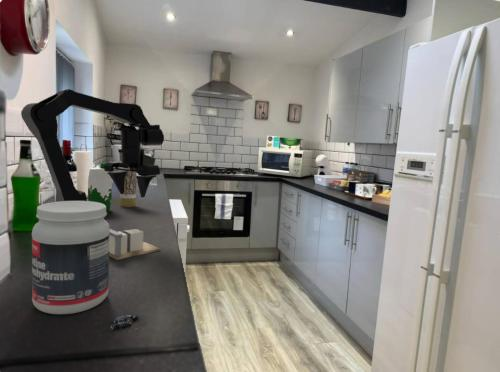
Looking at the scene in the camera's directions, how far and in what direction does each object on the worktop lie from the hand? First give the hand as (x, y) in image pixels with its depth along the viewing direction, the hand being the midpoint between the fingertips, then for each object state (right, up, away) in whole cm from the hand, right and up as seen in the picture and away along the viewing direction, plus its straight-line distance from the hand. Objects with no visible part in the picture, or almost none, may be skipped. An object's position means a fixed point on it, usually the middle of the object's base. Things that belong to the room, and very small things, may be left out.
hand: (132, 195), depth 109 cm
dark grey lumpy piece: (+16, -21, -50) cm, 57 cm away
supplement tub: (+3, -19, -44) cm, 48 cm away
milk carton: (-26, -8, +35) cm, 45 cm away
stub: (+4, -15, -13) cm, 20 cm away
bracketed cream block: (+1, -15, -16) cm, 22 cm away
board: (+4, -15, -13) cm, 20 cm away
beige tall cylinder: (-19, -6, +49) cm, 53 cm away
